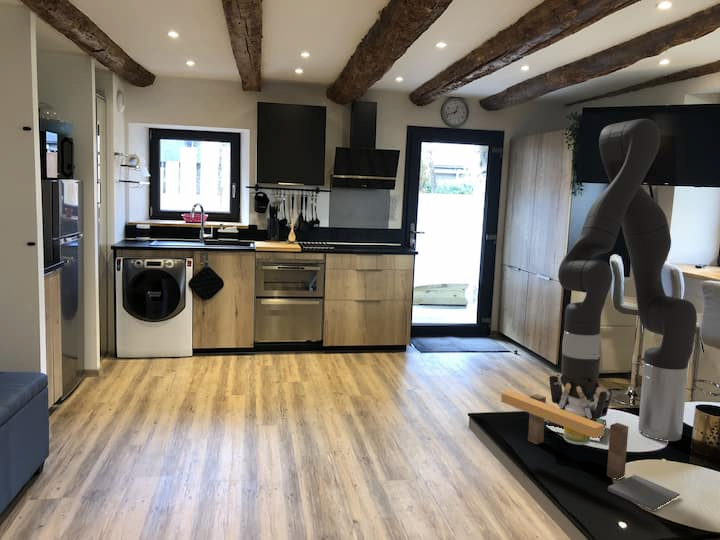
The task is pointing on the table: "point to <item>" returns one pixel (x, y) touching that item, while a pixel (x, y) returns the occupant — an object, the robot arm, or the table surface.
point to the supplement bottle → (572, 435)
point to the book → (643, 492)
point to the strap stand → (615, 441)
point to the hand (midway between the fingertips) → (577, 428)
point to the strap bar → (554, 414)
